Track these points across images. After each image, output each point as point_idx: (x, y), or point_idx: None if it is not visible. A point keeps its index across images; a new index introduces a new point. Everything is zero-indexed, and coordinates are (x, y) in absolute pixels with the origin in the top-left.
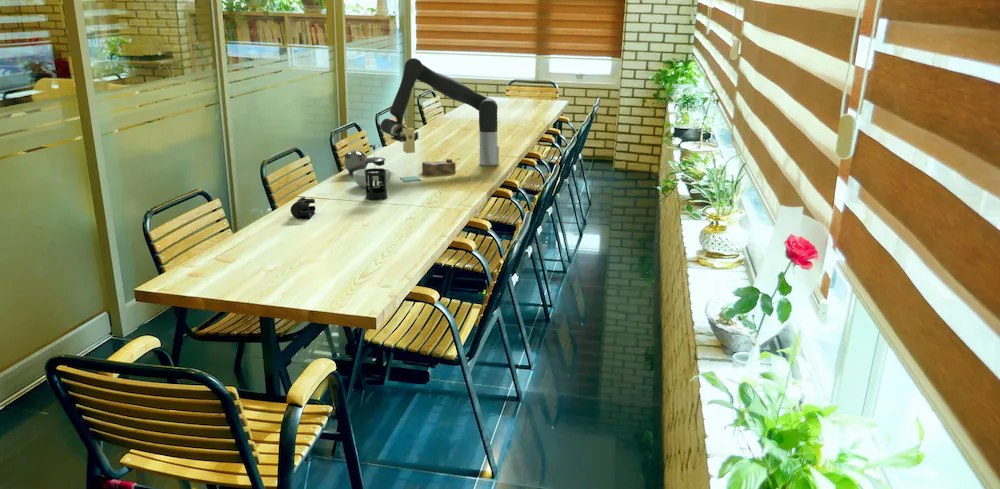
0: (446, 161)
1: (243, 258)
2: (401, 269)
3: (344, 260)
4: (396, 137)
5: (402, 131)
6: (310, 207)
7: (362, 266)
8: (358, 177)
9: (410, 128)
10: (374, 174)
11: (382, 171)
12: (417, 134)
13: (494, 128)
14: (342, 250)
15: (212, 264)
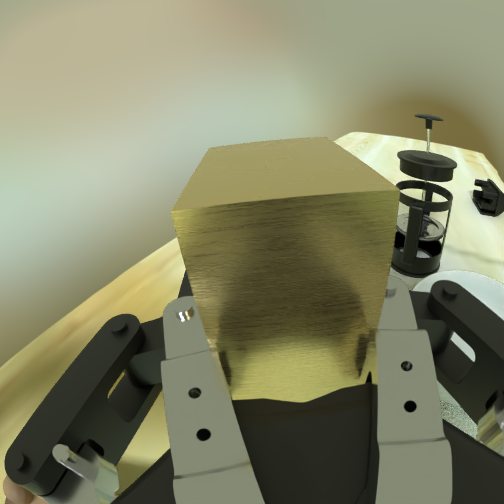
0: (30, 496)
1: (462, 161)
2: (341, 143)
3: (386, 150)
4: (468, 373)
5: (394, 496)
6: (487, 205)
7: (369, 146)
8: (498, 290)
9: (241, 157)
10: (417, 184)
11: (409, 204)
12: (120, 318)
13: None
14: (394, 156)
15: (474, 160)
